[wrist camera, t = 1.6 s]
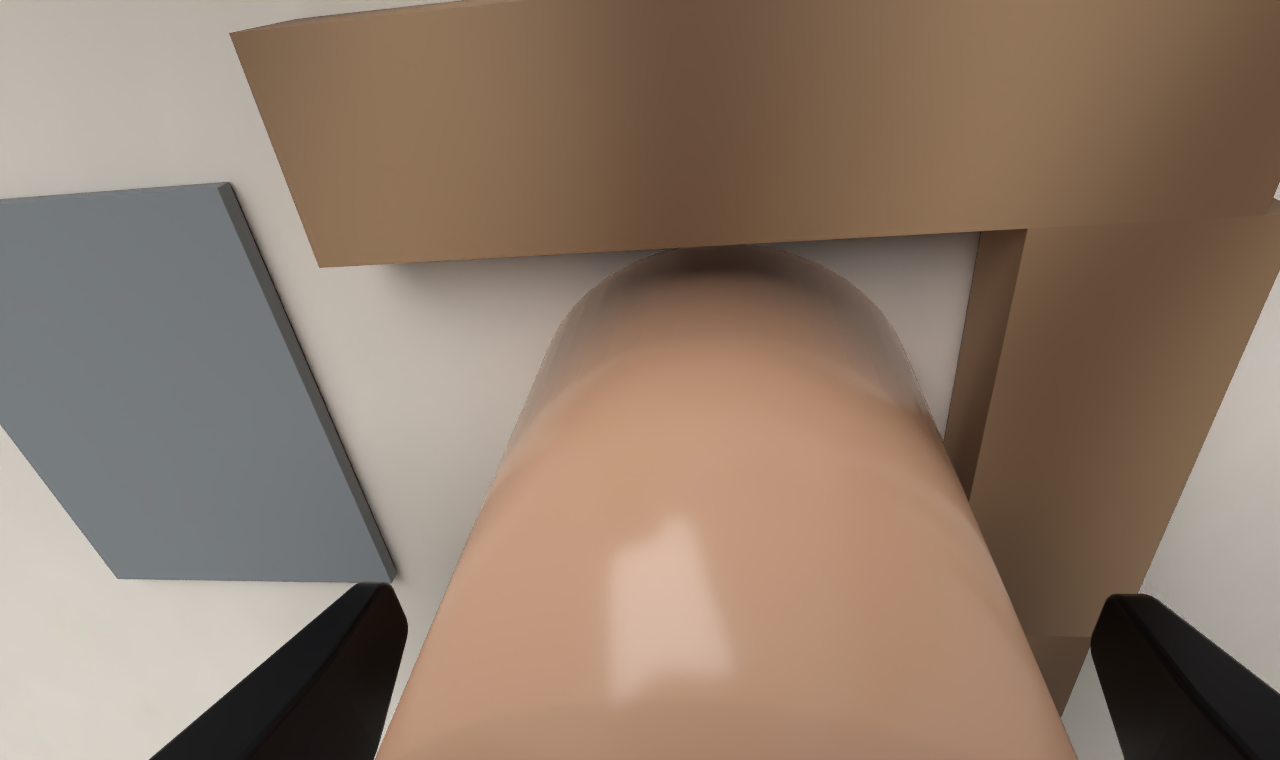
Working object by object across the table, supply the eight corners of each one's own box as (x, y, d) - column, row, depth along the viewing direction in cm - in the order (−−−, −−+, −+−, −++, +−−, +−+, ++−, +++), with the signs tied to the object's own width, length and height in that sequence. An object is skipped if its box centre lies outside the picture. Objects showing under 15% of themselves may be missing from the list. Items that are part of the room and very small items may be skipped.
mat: (228, 182, 11) (216, 187, 10) (396, 572, 16) (391, 583, 15) (-140, 210, 12) (-158, 216, 11) (126, 568, 17) (117, 578, 16)
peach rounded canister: (505, 255, 11) (220, 681, 5) (936, 231, 10) (1281, 722, 4) (591, 639, 16) (509, 1078, 10) (878, 646, 15) (984, 1136, 9)
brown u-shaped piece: (1324, -96, 8) (1442, -101, 6) (1047, 665, 15) (1077, 731, 14) (295, 18, 9) (228, 33, 8) (505, 648, 17) (487, 706, 16)
